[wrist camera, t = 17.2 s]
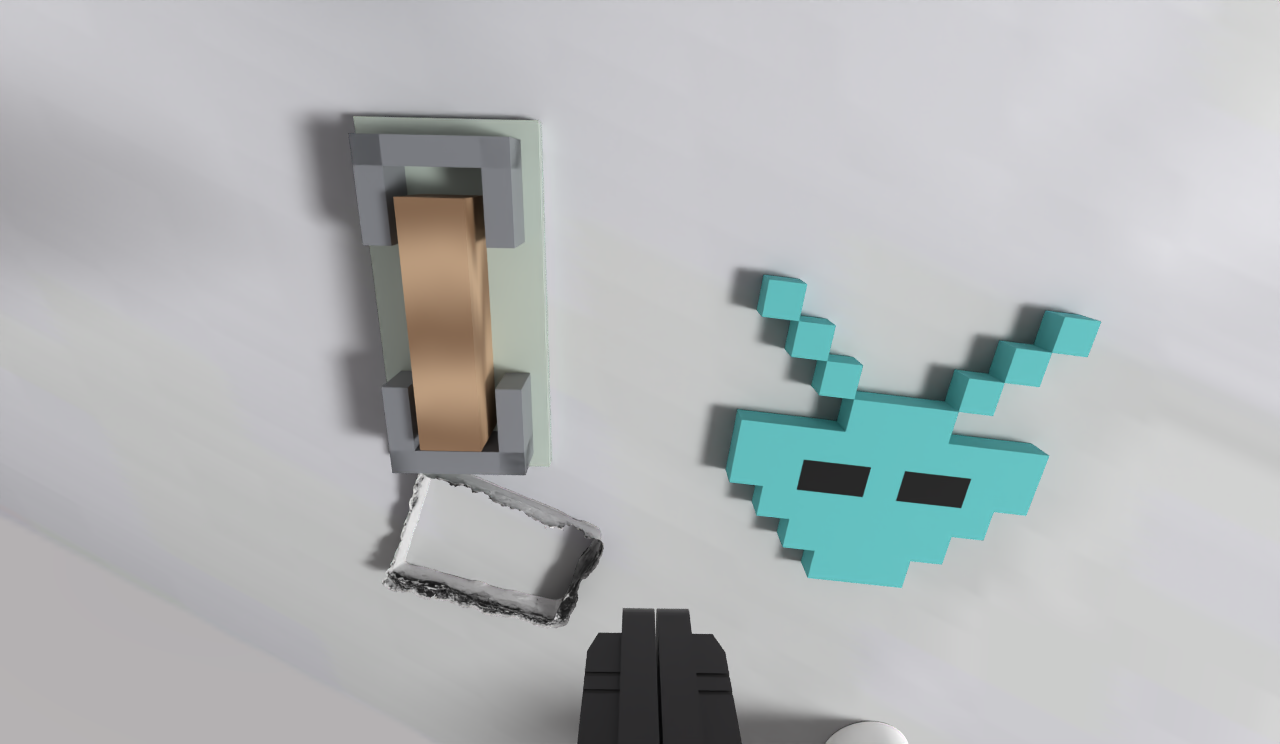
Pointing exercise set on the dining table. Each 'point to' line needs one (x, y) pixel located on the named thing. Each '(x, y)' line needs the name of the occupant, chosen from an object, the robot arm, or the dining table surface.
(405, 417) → the end caps
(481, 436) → the slat
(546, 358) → the cradle board
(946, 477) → the alien figure
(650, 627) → the robot arm
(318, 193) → the dining table surface
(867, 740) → the cylindrical container
